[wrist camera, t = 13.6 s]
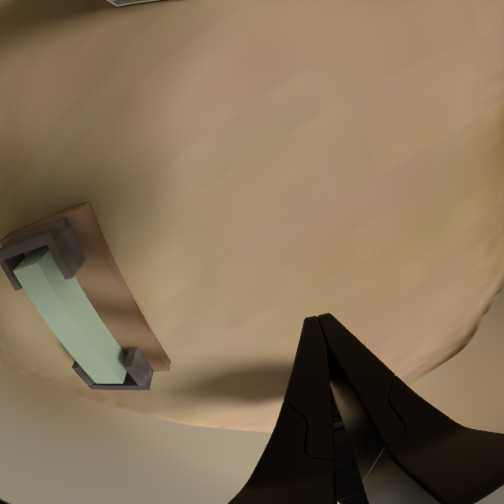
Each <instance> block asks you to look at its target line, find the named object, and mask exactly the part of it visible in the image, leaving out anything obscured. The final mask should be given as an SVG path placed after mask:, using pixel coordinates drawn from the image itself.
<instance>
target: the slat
mask: <svg viewBox="0 0 504 504" xmlns="http://www.w3.org/2000/svg"><path fill="white" fill-rule="evenodd" d="M13 272H14V274H15V276H16V277H17V279H18V281H19V282H20V284H21V286H22V287H23V289H24V290H25V292H26V294H27V295H28V297H29V298H30V300H31V301H32V303H33V304H34V306H35V307H36V309H37V310H38V312H39V313H40V315H41V316H42V318H43V319H44V320H45V322H46V323H47V325H48V326H49V327H50V329H51V330H52V331H53V333H54V334H55V335H56V337H57V338H58V339H59V341H60V342H61V343H62V344H63V346H64V347H65V348H66V349H67V351H68V352H69V353H70V354H71V355H72V357H73V358H74V359H75V360H76V361H77V363H78V364H79V365H80V366H81V367H82V368H83V369H84V371H85V372H86V373H87V374H88V375H89V376H90V377H91V378H92V379H93V381H94V382H95V383H98V384H122V383H123V382H124V379H125V376H126V372H127V370H126V369H125V368H124V365H125V362H126V359H127V355H126V354H125V353H124V351H123V350H122V349H121V347H120V346H119V344H118V343H117V342H116V340H115V339H114V338H113V336H112V335H111V333H110V332H109V330H108V329H107V327H106V326H105V324H104V323H103V322H102V320H101V319H100V317H99V315H98V314H97V312H96V311H95V309H94V308H93V306H92V305H91V303H90V301H89V300H88V298H87V297H86V295H85V293H84V292H83V290H82V288H81V287H80V285H79V283H78V281H77V280H76V278H75V276H74V277H73V278H70V279H66V280H65V278H64V277H63V275H62V273H61V271H60V269H59V267H58V266H57V264H56V262H55V260H54V258H53V256H52V254H51V252H50V250H49V248H48V246H45V247H42V248H40V249H37V250H34V251H31V252H30V253H29V254H28V255H27V256H26V258H25V259H24V260H23V261H22V262H21V263H20V264H19V265H18V266H17V267H16V268H15V269H14V271H13Z"/></svg>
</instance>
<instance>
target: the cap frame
mask: <svg viewBox="0 0 504 504" xmlns="http://www.w3.org/2000/svg"><path fill="white" fill-rule="evenodd" d="M1 244H2V247H1V248H0V264H1V266H2V268H3V270H4V272H5V273H6V275H7V277H8V279H9V280H10V282H11V284H12V286H13V287H14V289H15V291H16V290H20V289H21V288H22V286H21V284H20V282H19V281H18V279H17V277H16V276H15V274H14V272H13V271H14V269H15V268H16V267H17V266H18V265H19V264H20V263H21V262H22V261H23V260H24V259H25V258H26V256H27V255H28V254H29V253H30V252H31V251H34V250H37V249H40V248H42V247H45V246H48V248H49V250H50V252H51V254H52V256H53V258H54V260H55V262H56V264H57V266H58V267H59V269H60V271H61V273H62V275H63V277H64V278H65V280H66V279H70V278H73V277H74V276H75V278H76V280H77V281H78V283H79V285H80V287H81V288H82V290H83V292H84V293H85V295H86V297H87V298H88V300H89V301H90V303H91V305H92V306H93V308H94V309H95V311H96V312H97V314H98V315H99V317H100V319H101V320H102V322H103V323H104V324H105V326H106V327H107V329H108V330H109V332H110V333H111V335H112V336H113V338H114V339H115V340H116V342H117V343H118V344H119V346H120V347H121V349H122V350H123V351H124V353H125V354H126V355H127V359H126V362H125V365H124V368H125V369H126V370H127V372H126V376H125V379H124V382H123V383H122V384H98V383H95V382H94V381H93V379H92V378H91V377H90V376H89V375H88V374H87V373H86V372H85V371H84V369H83V368H82V367H81V366H80V365H79V364H78V363H77V361H76V360H75V362H74V364H73V366H72V368H73V369H74V371H75V372H76V373H77V374H78V375H79V376H80V377H81V378H82V379H83V381H84V382H85V383H86V384H87V385H88V386H89V387H90V388H91V389H102V390H149V389H150V385H151V380H152V376H153V372H155V371H169V369H170V364H171V361H170V359H169V358H168V356H167V355H166V353H165V352H164V350H163V348H162V347H161V345H160V343H159V342H158V340H157V338H156V337H155V335H154V333H153V332H152V330H151V328H150V327H149V325H148V323H147V321H146V320H145V318H144V316H143V314H142V313H141V311H140V309H139V307H138V305H137V304H136V302H135V300H134V298H133V296H132V294H131V292H130V290H129V289H128V287H127V285H126V283H125V281H124V279H123V277H122V275H121V273H120V271H119V269H118V267H117V265H116V263H115V261H114V259H113V256H112V254H111V252H110V250H109V248H108V246H107V244H106V241H105V239H104V237H103V235H102V232H101V230H100V228H99V225H98V223H97V221H96V218H95V216H94V214H93V211H92V209H91V206H90V204H89V202H87V203H84V204H81V205H78V206H76V207H73V208H70V209H68V210H65V211H63V212H60V213H57V214H55V215H52V216H50V217H47V218H45V219H42V220H40V221H38V222H35V223H33V224H30V225H28V226H26V227H24V228H21V229H19V230H17V231H14V232H12V233H10V234H8V235H6V236H5V237H4V238H3V239H2V240H1Z"/></svg>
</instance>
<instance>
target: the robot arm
mask: <svg viewBox="0 0 504 504" xmlns="http://www.w3.org/2000/svg"><path fill="white" fill-rule="evenodd" d="M394 376H395V374H394V373H393V372H392V371H391V370H390V369H389V368H388V367H387V366H386V365H385V364H384V363H383V362H382V361H380V360H379V359H378V358H377V357H376V356H375V355H374V354H373V353H372V352H371V351H370V350H369V349H368V348H367V347H366V346H365V345H364V344H362V343H361V342H360V341H359V340H358V339H357V338H356V337H355V336H354V335H353V334H352V333H351V332H350V331H349V330H348V329H346V328H345V327H344V326H343V325H342V324H341V323H340V322H339V321H338V320H337V319H336V318H335V317H334V316H333V315H331V314H330V313H326V314H321V315H319V316H318V317H317V316H312V317H307V318H305V319H304V323H303V327H302V331H301V336H300V340H299V344H298V348H297V352H296V356H295V360H294V364H293V368H292V371H291V375H290V379H289V383H288V386H287V390H286V394H285V397H284V402H283V404H282V407H281V411H280V414H279V417H278V420H277V423H276V426H275V428H274V431H273V433H272V435H271V438H270V440H269V442H268V444H267V446H266V448H265V450H264V452H263V454H262V456H261V458H260V460H259V462H258V464H257V466H256V467H255V470H254V471H253V473H252V475H251V476H250V478H249V480H248V481H247V483H246V484H245V486H244V487H243V488H242V489H241V491H240V492H239V493H238V494H237V495H236V496H235V497H234V498H233V499H232V500H231V501H230V502H229V503H228V504H337V501H338V502H339V503H340V504H504V434H502V433H494V432H488V431H482V430H475V429H471V428H467V427H464V426H462V425H460V424H458V423H456V422H455V421H453V420H452V419H450V418H449V417H448V416H446V415H445V414H443V413H442V412H441V411H439V410H438V409H436V408H435V407H434V406H432V405H431V404H430V403H428V402H427V401H425V400H424V399H423V398H422V397H420V396H419V395H418V394H416V393H415V392H414V391H413V390H412V389H410V388H409V387H408V386H407V385H406V384H405V383H404V382H403V381H402V380H401V379H400V378H399V377H398V376H395V377H394ZM0 504H9V503H8V502H6V501H4V500H2V499H0Z"/></svg>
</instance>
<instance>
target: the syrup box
mask: <svg viewBox="0 0 504 504" xmlns="http://www.w3.org/2000/svg"><path fill="white" fill-rule="evenodd" d="M107 1H108V2H110V3H111V4H113V5H115V6H118V7H120V6H124V5H129V4H135V3H144V2H150V1H158V0H107Z"/></svg>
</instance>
